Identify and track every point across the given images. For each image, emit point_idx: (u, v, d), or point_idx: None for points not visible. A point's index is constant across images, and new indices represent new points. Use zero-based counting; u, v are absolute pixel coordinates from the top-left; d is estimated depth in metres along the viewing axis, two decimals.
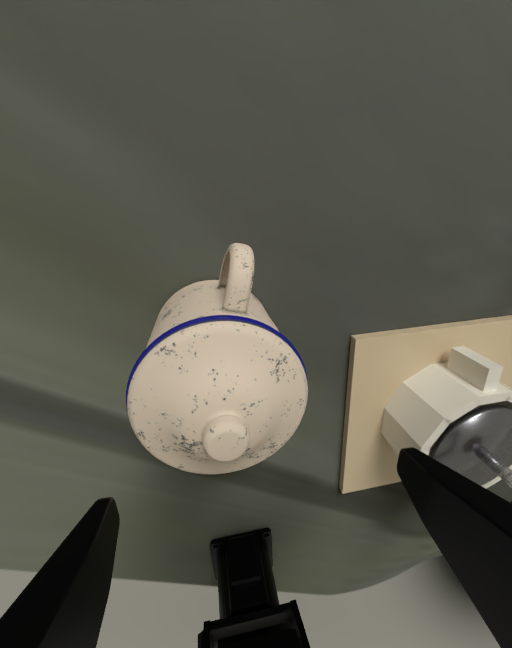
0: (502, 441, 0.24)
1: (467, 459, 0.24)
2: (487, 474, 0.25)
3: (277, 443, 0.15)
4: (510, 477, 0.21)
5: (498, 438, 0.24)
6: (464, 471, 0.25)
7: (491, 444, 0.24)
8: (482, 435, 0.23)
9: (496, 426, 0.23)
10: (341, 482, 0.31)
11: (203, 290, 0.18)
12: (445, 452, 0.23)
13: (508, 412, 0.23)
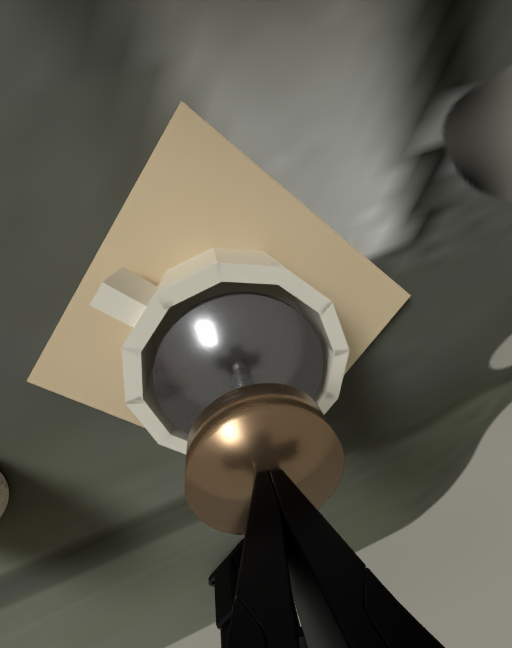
0: (249, 342, 0.14)
1: None
2: (301, 381, 0.15)
3: None
4: None
5: (235, 347, 0.14)
6: None
7: (239, 359, 0.14)
8: (205, 368, 0.14)
9: (204, 343, 0.13)
10: None
11: None
12: (190, 422, 0.15)
13: (189, 317, 0.13)
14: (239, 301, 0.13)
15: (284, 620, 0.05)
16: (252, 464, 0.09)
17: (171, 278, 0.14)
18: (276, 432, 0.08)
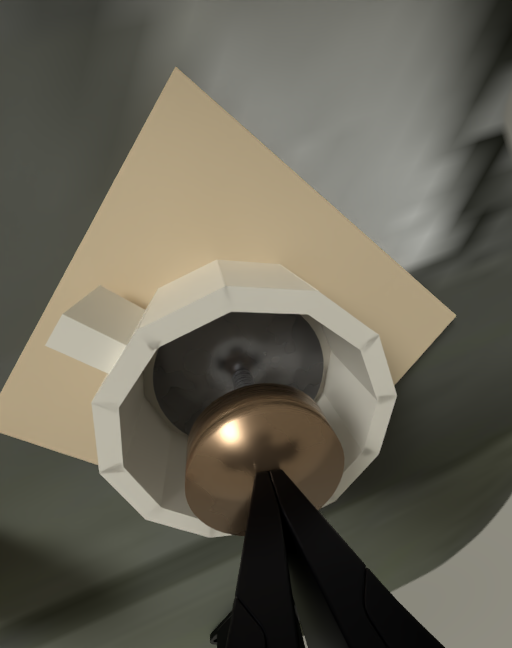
0: (249, 343, 0.14)
1: None
2: (301, 381, 0.15)
3: None
4: None
5: (235, 347, 0.14)
6: None
7: (239, 360, 0.14)
8: (205, 369, 0.14)
9: (204, 343, 0.13)
10: None
11: None
12: (190, 423, 0.15)
13: None
14: None
15: (284, 620, 0.05)
16: (252, 464, 0.09)
17: (161, 304, 0.10)
18: (276, 432, 0.08)
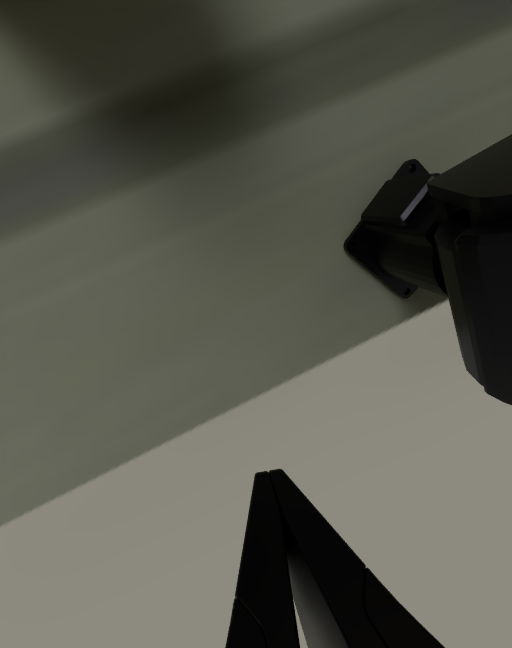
0: None
1: None
2: None
3: None
4: None
5: None
6: None
7: None
8: None
9: None
10: None
11: None
12: None
13: None
14: None
15: (284, 620, 0.05)
16: None
17: None
18: None
